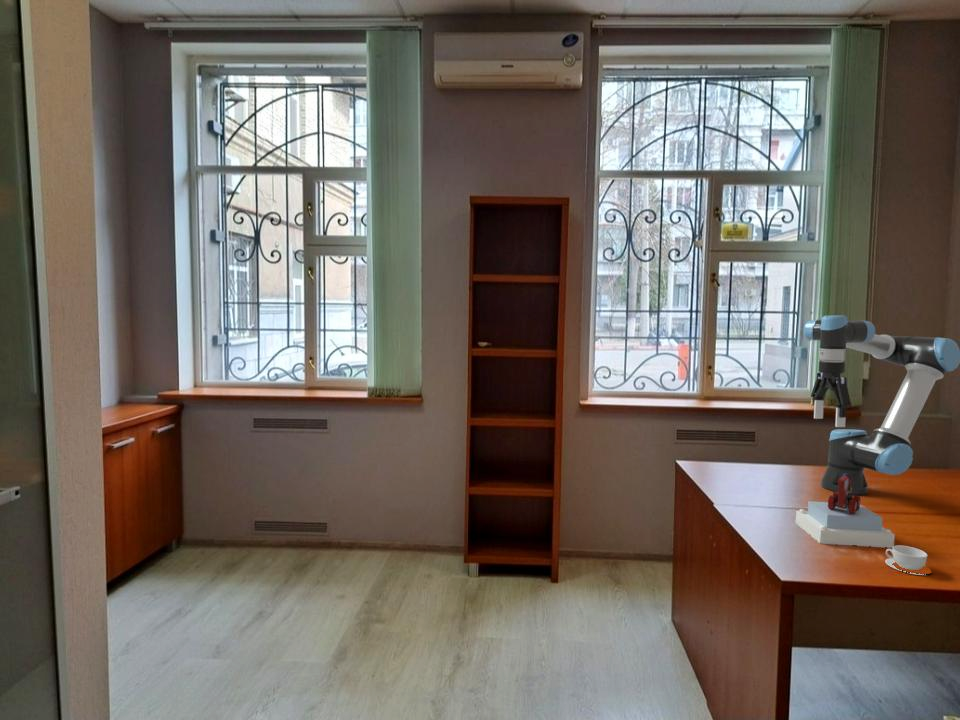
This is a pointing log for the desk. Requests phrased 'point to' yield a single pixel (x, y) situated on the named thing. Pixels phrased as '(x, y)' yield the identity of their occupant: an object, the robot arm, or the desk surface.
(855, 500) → the red toy vehicle
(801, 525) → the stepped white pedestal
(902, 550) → the teacup
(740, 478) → the desk surface
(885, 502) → the desk surface
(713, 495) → the desk surface
